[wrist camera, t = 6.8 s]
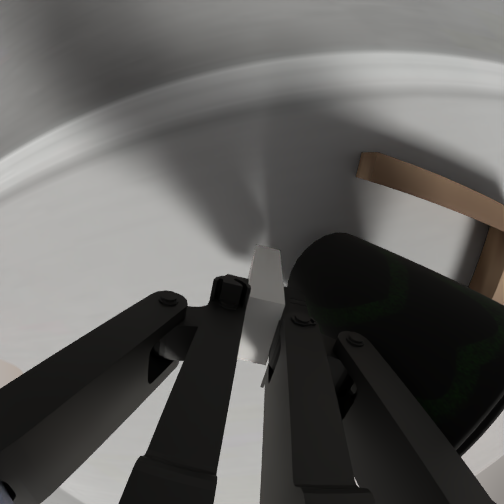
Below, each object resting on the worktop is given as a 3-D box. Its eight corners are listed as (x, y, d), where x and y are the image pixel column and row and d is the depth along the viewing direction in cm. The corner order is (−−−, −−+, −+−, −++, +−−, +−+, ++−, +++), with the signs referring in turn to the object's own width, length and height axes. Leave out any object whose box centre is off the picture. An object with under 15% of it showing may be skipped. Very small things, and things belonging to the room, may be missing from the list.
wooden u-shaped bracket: (361, 152, 16) (377, 152, 14) (507, 211, 16) (533, 221, 13) (299, 355, 21) (302, 383, 18) (439, 373, 21) (452, 396, 18)
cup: (355, 186, 16) (567, 288, 5) (390, 276, 20) (527, 378, 9) (242, 279, 15) (405, 490, 5) (305, 351, 19) (420, 492, 9)
